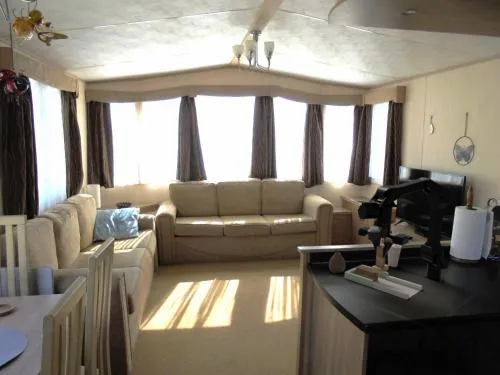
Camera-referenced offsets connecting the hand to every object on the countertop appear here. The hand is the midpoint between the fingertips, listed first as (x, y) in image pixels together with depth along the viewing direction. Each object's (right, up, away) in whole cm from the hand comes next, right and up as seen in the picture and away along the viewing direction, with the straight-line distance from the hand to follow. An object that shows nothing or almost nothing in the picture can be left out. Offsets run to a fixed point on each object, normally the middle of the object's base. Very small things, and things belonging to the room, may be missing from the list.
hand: (380, 256), depth 147 cm
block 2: (-3, -10, +4) cm, 11 cm away
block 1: (-5, -10, +7) cm, 13 cm away
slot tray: (+1, -12, +1) cm, 12 cm away
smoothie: (+14, -9, +24) cm, 29 cm away
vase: (-14, -10, +14) cm, 22 cm away
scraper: (0, -6, +1) cm, 6 cm away
